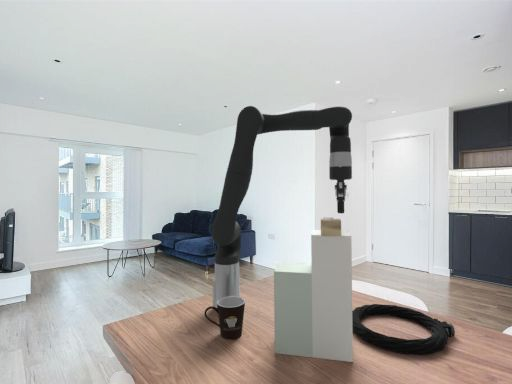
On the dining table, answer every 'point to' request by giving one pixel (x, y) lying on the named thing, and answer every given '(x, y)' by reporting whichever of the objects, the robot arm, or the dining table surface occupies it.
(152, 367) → the dining table surface
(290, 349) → the riser
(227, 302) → the coffee mug
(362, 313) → the cable lock
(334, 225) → the block
